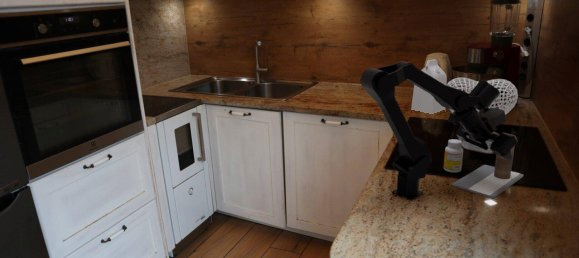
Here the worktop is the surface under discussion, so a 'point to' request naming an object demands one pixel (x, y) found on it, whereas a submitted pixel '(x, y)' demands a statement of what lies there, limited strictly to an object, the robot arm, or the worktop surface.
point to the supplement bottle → (453, 156)
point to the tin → (477, 149)
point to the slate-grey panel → (486, 182)
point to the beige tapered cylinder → (503, 166)
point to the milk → (424, 99)
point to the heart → (509, 84)
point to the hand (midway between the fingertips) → (498, 153)
